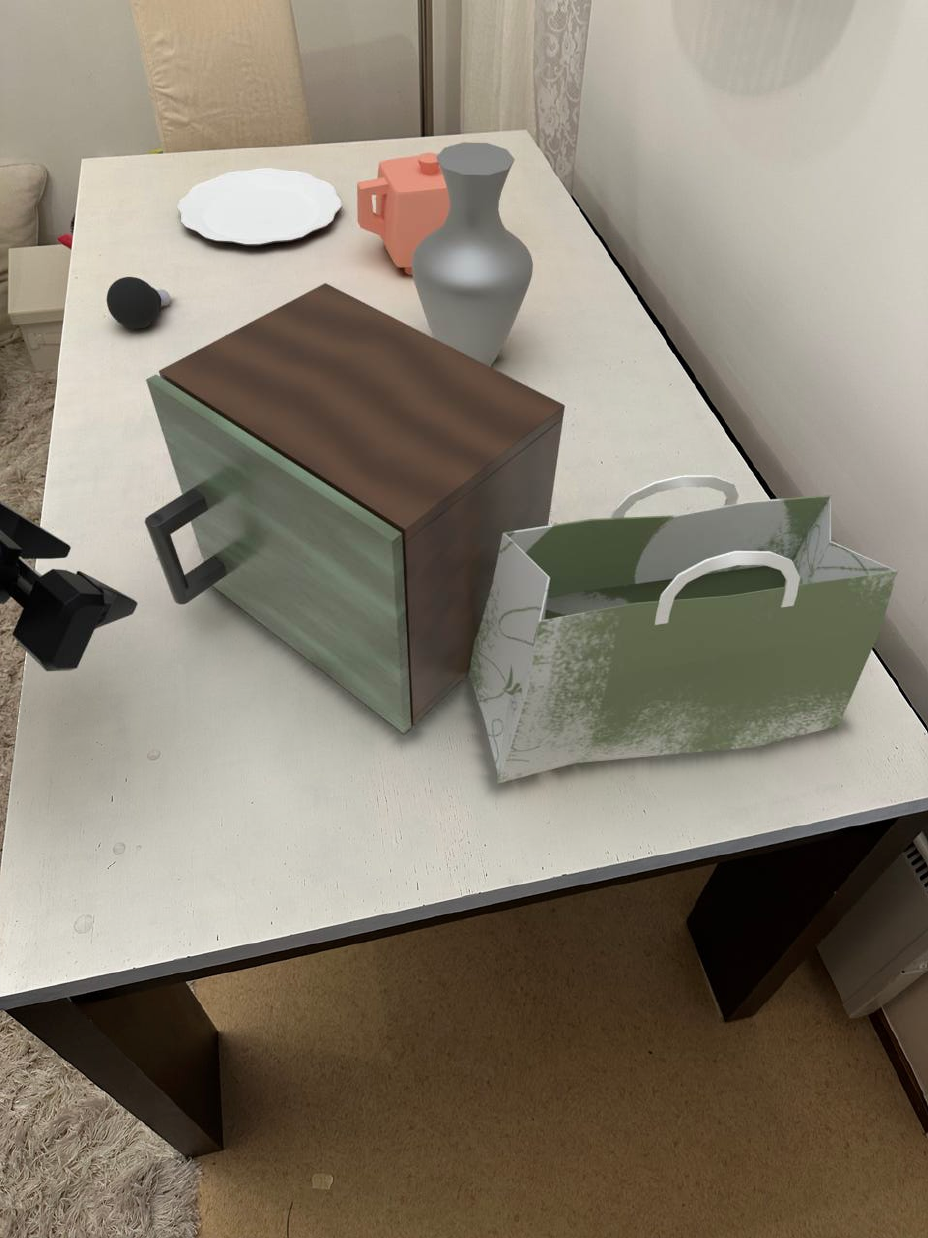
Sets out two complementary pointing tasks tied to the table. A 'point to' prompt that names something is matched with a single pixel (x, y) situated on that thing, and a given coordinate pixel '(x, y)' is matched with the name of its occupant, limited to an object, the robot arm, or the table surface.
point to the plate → (259, 206)
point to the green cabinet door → (285, 552)
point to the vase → (472, 257)
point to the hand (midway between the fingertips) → (100, 578)
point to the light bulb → (135, 302)
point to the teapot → (404, 204)
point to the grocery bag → (672, 631)
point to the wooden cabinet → (395, 450)
